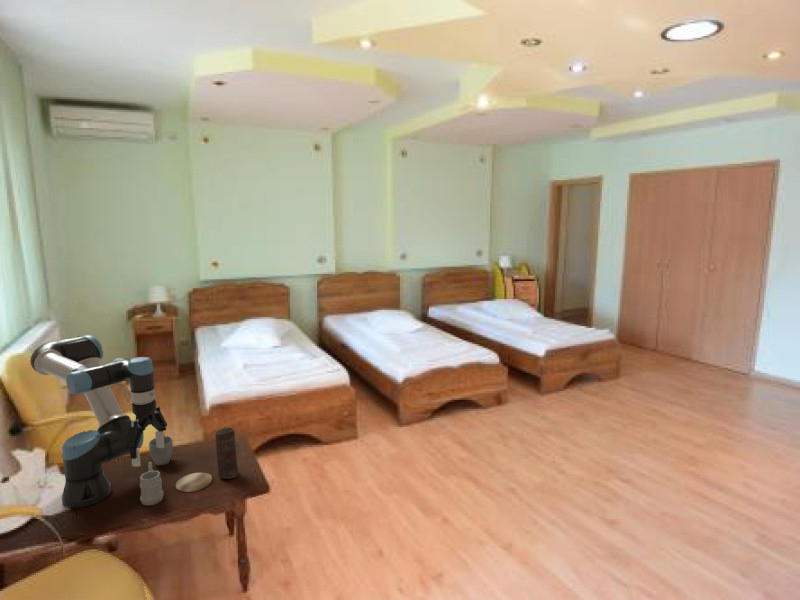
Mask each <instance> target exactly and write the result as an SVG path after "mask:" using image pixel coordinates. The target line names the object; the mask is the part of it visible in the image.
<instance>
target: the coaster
mask: <svg viewBox="0 0 800 600" xmlns="http://www.w3.org/2000/svg"><path fill="white" fill-rule="evenodd" d="M212 481H213V477H212V475H211V474H210V473H207V472H194V473H189V474H186V475H184V476H182V477H181V478H179V479H178V480H176V483H175V489H176V490H177V491H178V492H181V493H195V492H197V491H201V490H203V489H205V488H207V487H208V486H210V485H211V483H213V482H212Z"/></svg>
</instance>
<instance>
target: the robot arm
mask: <svg viewBox="0 0 800 600" xmlns="http://www.w3.org/2000/svg"><path fill="white" fill-rule="evenodd" d="M103 357H104V351H103V346H102V344H101V342H100V341H99V339H98V338H96V337H95V336H94V335H90V334H87V335H78V336H73V337H69V338H65V339H58V340H52V341H47V342H45V343H43V344H41V345H39V346H38V347H36V349H35V350H33V352H32V354H31V355H30V360H29V361H30V366H31V368H32V369H33V371H35V372H36V373H39V374H40V375H44V376H49V375H50V376H52V377H54V378H57V379H58V380H61V381H63V382H65V383H66V386H67V389H68V390H69V392H70V393H72V394H73V395H75V394H76V395H77V394H81V393H82V394H83V393H84V396H85V398H86V399H87V402H88V404H89V406H90V408H91V411H92V412H93V414H94V416H95V417H94V418H96V421H97V422H98V425H99V426H98V428H97V429H96V430H94V429H92V430H90V429H89V430H84V431H81V432H78V433H75V434H73V435H72V436H70V437H68V438H67V439H66V440H65V442H63V444H62V447H61V453H62V454H61V457H62V463H63V470H64V477H65V478H64V479H65V483H64V486H63V492H62V494H61V501H62V502H61V503H62V505H63V506H64V507H65V506H66V508H71V509H78V508H84V507H85V508H86V507H89V506H92V505H94V504H97V503H99V502H101V501H103V500H104V499H106V498H107V497H108V496H109V495H110V494H111V492H112V487H111V483H110V481H109V480H108V478H107V476H106V474H105V471H104V464H107V463H109V462H112V461H114V460H117V459H119V458H122V457H125V456H127V455H130V459H131V466H132V467H136V468H137V467H141V465H142V464H141V456H140V455H141V453H140V449H141V448H142V446H143V444H144V431H145V430H146V429H147V427H148V426H152V427H153V428H154V429H155V438H156V446H157V448H164V436H165V435H164V434H165V433H164V431H166V430H167V426H168V423H167V421H166V419H165V418H164V415H163V414H162V411H161V407H160V406H157V400H156V392H155V377H154V376H155V375H154V374H155V373H154V365H153V360H152V359H151V357H148V356H146V357H144V356H140V357H138V356H137V357H133V358H131V359H130V358H127V357H117V358H115V359H114V360H112V361H111V362H109V363H106V364H101V363H102V360H103ZM122 382H127V383H129V388H130V399H131V402H132V404H131V409H132V413H133V414H134V415H135V419H133V420H132V419H131V417H130V415H129V414H128V415H127V414H124V413H123V411H122V409H121V407H120V405H119V402H118V401H117V399H116V396H115V394H114V393H113V391H112V389H111V387H110V386H111V385H115V384H118V383H122Z"/></svg>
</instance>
